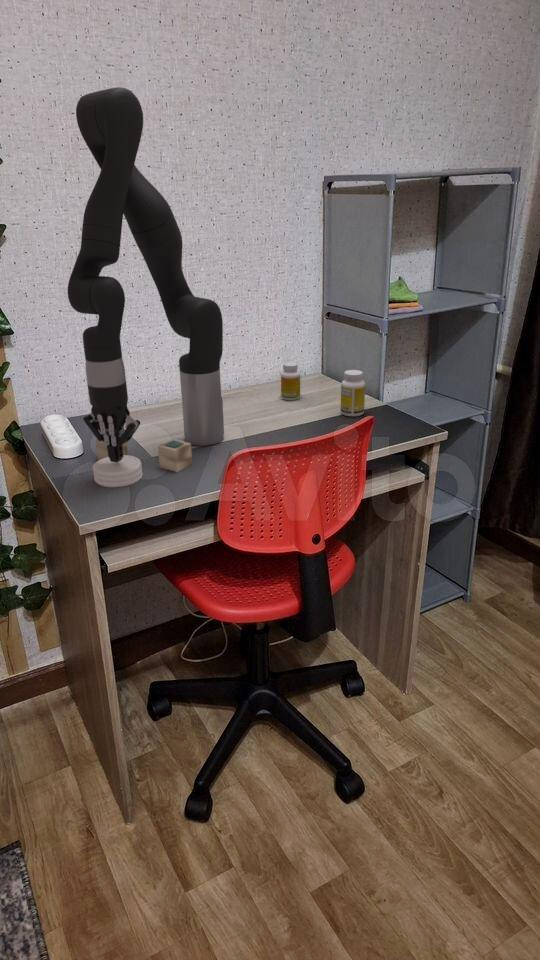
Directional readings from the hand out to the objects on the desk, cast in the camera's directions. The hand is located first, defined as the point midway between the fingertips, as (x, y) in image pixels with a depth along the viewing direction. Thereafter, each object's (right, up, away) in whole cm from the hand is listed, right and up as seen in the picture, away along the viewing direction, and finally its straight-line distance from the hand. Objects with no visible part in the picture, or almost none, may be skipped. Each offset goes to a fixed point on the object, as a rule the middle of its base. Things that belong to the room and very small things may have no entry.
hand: (116, 460), depth 140 cm
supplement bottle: (+38, +19, +49) cm, 65 cm away
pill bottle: (+54, +13, +36) cm, 66 cm away
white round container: (0, -4, +2) cm, 4 cm away
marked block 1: (-3, +1, +12) cm, 13 cm away
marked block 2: (+12, -1, +7) cm, 13 cm away
